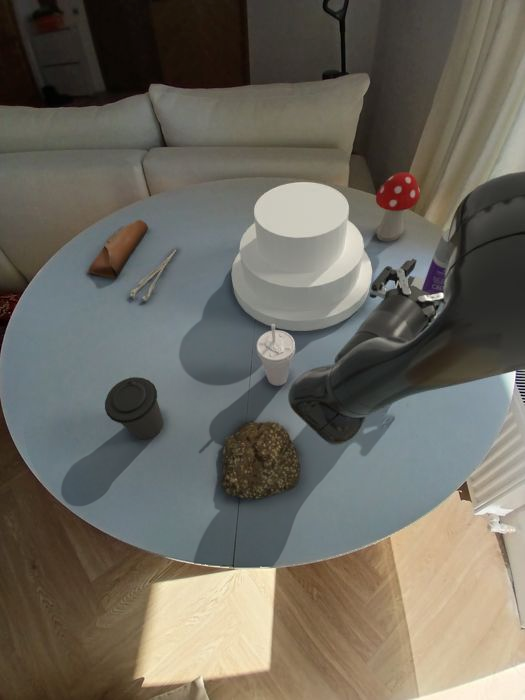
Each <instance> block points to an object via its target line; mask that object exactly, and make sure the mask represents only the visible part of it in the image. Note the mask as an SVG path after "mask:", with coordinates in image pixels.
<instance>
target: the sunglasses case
mask: <svg viewBox="0 0 525 700" xmlns="http://www.w3.org/2000/svg"><path fill="white" fill-rule="evenodd" d="M148 229H149V226H148V224H147V223H146V222H145V221H144V220H142V219H137V220H135V221H133V222H131V223H129V224H128V225H125V226H124V227H121V228H119V229H118V230H116V231H115V233H113V235H111V236H110V237H109V238H108V239H107V240H106V242H105V243H104V245H103V248H102V249H101V250H100V252H98V254H97V255H96V257H95V258H94V259H93V261H92V263H91V264H90V266H89V268H88V270H87V272H88V273H89V274H91V275H95V276H99V277H104V278H110V279H116V278H117V277H118V275H120V273H121V272H122V270H123V268H124V267H125V265H126V262H128V260H129V258H130V256H131V255H132V253H133V252H134V251H135V249H136V247H137V246H138V244H139V243H140V242H141V240H142V238H144V236H145V234H146V233H147V231H148Z"/></svg>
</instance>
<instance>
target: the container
mask: <svg viewBox="0 0 525 700" xmlns="http://www.w3.org/2000/svg"><path fill="white" fill-rule="evenodd" d="M449 230H450V228H447V229H445V230H444V231H443V232H442V233H441V236H440V238H439V241H438V244H437V246H436V248H435V251H434V254H433V256H432V259H431V262H430V264H429V267H428V271H427V273H426V277H425V278H426V279H425V282H424V285H423V287H422V290H423V291H426V292H429V293H430V295H432V294H437V293H443V288H444V278H445V266H446V255H447V253H446V250H447V242H448V236H449ZM434 304H435V302H434Z"/></svg>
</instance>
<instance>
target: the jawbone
mask: <svg viewBox="0 0 525 700" xmlns="http://www.w3.org/2000/svg"><path fill="white" fill-rule="evenodd" d="M176 252H177V249H174V251H173V252H172V253H171V254H170V255H168V256H167V258H165V259H164V260H163V261H162V262H161V263H160V264H159V265H158V266H157V267H156V268H154V269H153V270H152V271H151V272H149V273H148V274H147V275H146V276H144V277H143V278H142V279H141V280H140V281H139V282H138V283H137V285H135V286H134V288H133V289H131V291H130V293H129V295H130V297H131V298H132V299H134V300H135V298H136V294H137V293H138V291H139V290H140V289H142V288H143V287H144V286H145V285H146V284H147V283H148V282H149V281H150V280H151V279H152V278H153V277H154V276H155V275H156V277H155V279H154V280H153V282H152V283H151V285H150V287H149V289H148V292H147V293H146V294H144V296H142V297H141V299H142V300H143V302H147V301H148V300H149V298H150V296H151V293H152V292H153V290H154V288H155V285H156V284H157V281H159V278H160V277H161V275H162V273H163V272H164V270H165V268H166V266H167V265H168V263H169V262H170V261H171V259H172V258H173V256H174V255H175V254H176Z"/></svg>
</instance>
